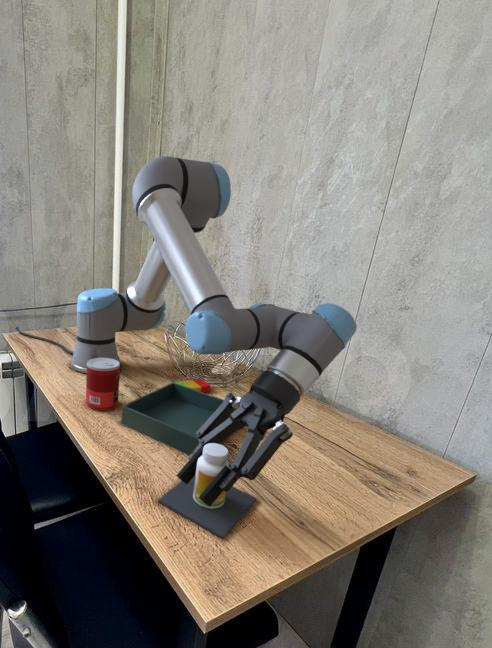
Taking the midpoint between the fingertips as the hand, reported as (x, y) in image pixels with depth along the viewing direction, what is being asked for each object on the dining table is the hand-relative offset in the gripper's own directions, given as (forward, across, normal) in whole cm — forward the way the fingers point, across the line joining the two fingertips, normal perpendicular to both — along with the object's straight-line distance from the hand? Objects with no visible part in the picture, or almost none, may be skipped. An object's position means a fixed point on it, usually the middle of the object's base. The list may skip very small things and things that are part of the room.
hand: (192, 490), depth 64 cm
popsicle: (-16, +40, -21) cm, 48 cm away
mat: (0, 0, -5) cm, 5 cm away
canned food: (+1, +40, -4) cm, 41 cm away
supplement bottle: (0, 0, -5) cm, 5 cm away
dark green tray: (-9, +24, -13) cm, 29 cm away
